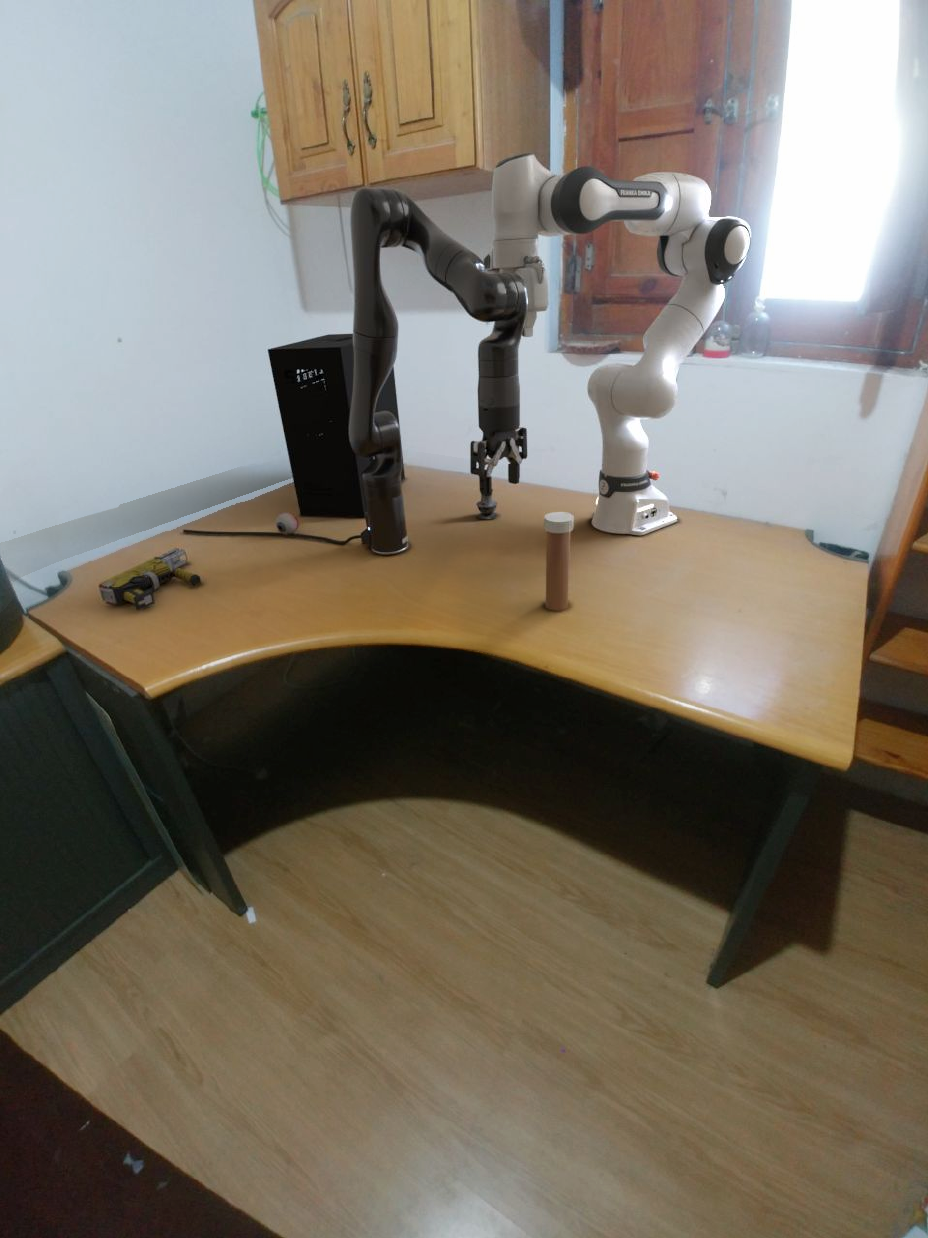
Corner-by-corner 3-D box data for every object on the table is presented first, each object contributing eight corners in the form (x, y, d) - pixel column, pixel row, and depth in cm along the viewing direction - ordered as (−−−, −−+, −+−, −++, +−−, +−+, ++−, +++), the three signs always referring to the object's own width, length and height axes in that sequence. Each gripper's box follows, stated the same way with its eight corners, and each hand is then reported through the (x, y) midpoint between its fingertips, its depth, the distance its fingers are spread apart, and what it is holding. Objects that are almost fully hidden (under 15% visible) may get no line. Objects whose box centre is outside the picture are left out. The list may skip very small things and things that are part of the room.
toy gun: (224, 556, 146) (173, 545, 150) (148, 597, 126) (92, 584, 130) (226, 573, 148) (177, 563, 152) (152, 617, 128) (97, 603, 132)
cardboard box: (364, 517, 173) (340, 346, 151) (300, 515, 178) (267, 349, 155) (404, 478, 205) (390, 332, 182) (349, 476, 209) (328, 334, 187)
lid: (571, 522, 117) (571, 510, 116) (575, 533, 112) (576, 521, 111) (542, 523, 117) (542, 512, 116) (545, 534, 112) (546, 522, 111)
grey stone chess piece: (496, 519, 166) (494, 477, 160) (475, 519, 167) (473, 476, 161) (499, 512, 171) (498, 470, 165) (478, 511, 172) (477, 470, 166)
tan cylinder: (566, 599, 125) (569, 514, 116) (569, 610, 121) (572, 522, 112) (544, 600, 125) (545, 515, 116) (546, 611, 121) (548, 523, 112)
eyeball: (273, 537, 164) (268, 516, 161) (287, 528, 169) (282, 508, 166) (291, 539, 161) (286, 518, 158) (305, 530, 166) (301, 510, 163)
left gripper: (506, 392, 115) (507, 476, 123) (456, 406, 106) (461, 495, 114) (539, 396, 110) (537, 482, 118) (490, 410, 101) (492, 503, 109)
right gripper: (557, 254, 111) (556, 336, 118) (505, 258, 127) (506, 331, 134) (528, 255, 109) (527, 339, 116) (478, 260, 125) (481, 333, 132)
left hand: (500, 488), depth 116 cm, fingers open, 8 cm apart
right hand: (516, 335), depth 125 cm, fingers open, 8 cm apart
